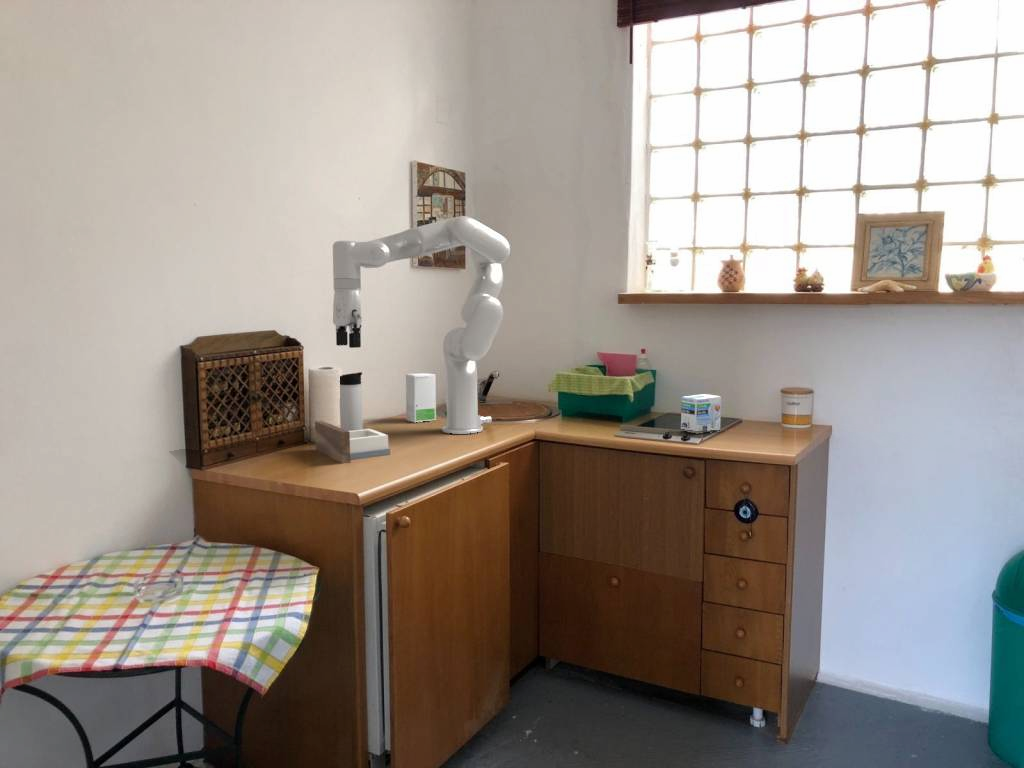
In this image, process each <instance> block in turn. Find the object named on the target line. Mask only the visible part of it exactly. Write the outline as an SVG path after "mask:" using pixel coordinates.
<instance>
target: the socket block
mask: <svg viewBox="0 0 1024 768" xmlns="http://www.w3.org/2000/svg"><path fill="white" fill-rule="evenodd" d="M349 434H350V461H351V460H358V459H366V458H372V457H373V458H374V457H381V456H389V455H391V449H390V448H389V435H388V434H386V433H383V432H380V431H379V430H375V429H373V428H363V429H362V430H353V431H349Z"/></svg>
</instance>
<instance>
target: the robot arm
mask: <svg viewBox="0 0 1024 768" xmlns="http://www.w3.org/2000/svg"><path fill="white" fill-rule="evenodd" d="M462 246H463V247H464V248H467V249H468V250H469V253H470V257H471V260H472V261H473V263H474V266H475V278H474V280H473V283H472V285H471V288H470V289H469V292H468V294H467V296H466V298H465V300H464V302H463V304H462V307H461V310H460V315H461V319H462V321H463V322H464V323H465V324H466V325H465V327H455V328H452V329H450V330H449V331H448V332H446V334H445V336H444V338H443V341H442V343H443V344H442V348H443V349H442V350H443V356H444V363H445V388H446V389H445V391H446V393H445V394H446V395H445V396H446V398H445V399H446V402H445V403H446V406H445V407H446V425H443V426H442V427H441V431H442V433H445V434H450V433H452V435H469V434H470V433H471V434H478V433H480V432H483V430H484V426H483V424H485V423H486V424H487V423H492V419H493V418H492V417H491V416H489V415H487V416H481V415H480V414H478V413H479V412H478V411H479V410H478V407H479V406H478V405H479V404H478V403H479V401H478V369H477V368H478V366H477V362H478V361H479V360H482V359H483V358H484V357H485V355H487V353H488V351H489V350H490V348H491V346H492V344H493V341H494V339H495V337H496V335H497V333H498V331H499V328H500V326H501V324H502V321H503V317H504V309H503V306H502V303H501V301H500V300H499V299H498V297H499V295H500V292H501V290H502V287H503V284H504V271H503V266H502V264H503V263H505V262H506V261H507V260H508V259H509V257H510V254H511V246H510V243H509V242H508V240H507V239H506V238H505V237H504V236H503V235H501V234H500V233H498V232H497V231H495V230H493V229H491V228H490V227H488V226H486V225H485V224H484V223H481V222H480V221H479V220H476V219H474V218H472V217H470V216H466V215H460V216H455V217H451V218H447V219H446V218H445V219H442V220H439V221H436V222H435V221H434V222H431V223H428V224H424V225H423V224H422V225H420V226H415V227H412V228H409V229H405V230H404V231H400V232H398V233H395V234H390V235H387V236H384V237H380V238H376V239H373V240H372V239H371V240H367V241H355V240H338V241H335V242H334V243H333V245H332V274H333V275H332V278H333V281H332V282H333V291H334V292H333V293H334V294H333V305H332V306H333V307H332V308H333V309H332V313H333V314H332V324H333V325H334V326H335V338H336V339H335V340H336V346H339V347H340V346H348V345H349V346H348V347H349V348H351V349H352V348H353V349H354V348H357V349H358V348H361V346H362V345H361V340H362V339H361V337H362V336H361V335H362V333H361V332H362V329H361V328H362V321H363V320H362V310H361V298H360V297H361V296H360V291H362V289H361V288H362V286H361V285H362V283H361V275H362V274H361V267H362V268H365V269H376V268H377V269H378V268H380V267H381V268H382V267H384V266H385V265H386V264H388V263H393V262H395V261H396V262H398V261H401V260H407V259H416V258H420V257H425V256H429V255H432V254H436V253H439V252H443V251H446V250H450V249H454V248H457V247H462ZM347 329H348V330H349V333H348V331H347ZM477 432H478V433H477Z"/></svg>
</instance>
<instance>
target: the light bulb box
mask: <svg viewBox="0 0 1024 768" xmlns="http://www.w3.org/2000/svg"><path fill="white" fill-rule="evenodd" d="M680 411H681V412H680V413H681V414H680V415H681V416H680V418H681V419H680V420H681V421H680V430H681V429H685V430H693V431H710V430H720V431H721V421H722V419H721V417H722V416H721V414H722V413H721V412H722V396H720V395H715V394H714V395H713V394H708V393H703V394H693V395H685V396H681V410H680Z"/></svg>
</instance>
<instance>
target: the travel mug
mask: <svg viewBox="0 0 1024 768" xmlns="http://www.w3.org/2000/svg"><path fill="white" fill-rule="evenodd" d="M362 375H363V372H362V371H361V372H355V373H353V372H351V373H346V374H342V375H339V376H340V381H339V382H340V386H339V387H340V399H339V418H340V419H339V421H340V422H339V425H340V427H339V428H341V429H344V430H346V431H353V430H362V429H364V428H363V427H364V422H363V421H364V420H363V398H362V397H363V396H362V393H363V391H362V381H361V380H362Z"/></svg>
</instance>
